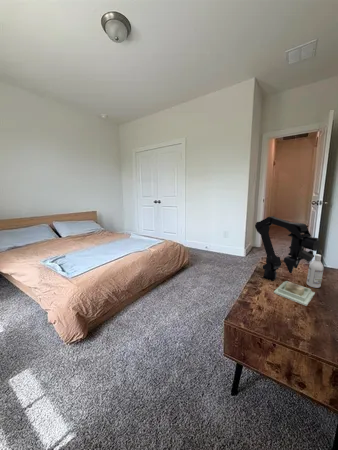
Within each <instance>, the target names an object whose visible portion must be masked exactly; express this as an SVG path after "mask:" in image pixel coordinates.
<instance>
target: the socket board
mask: <svg viewBox="0 0 338 450" xmlns="http://www.w3.org/2000/svg"><path fill="white" fill-rule="evenodd" d="M288 282H289V281H288V280H285V281H283V282H282V283H281V284H280V285H279V286H278V287H276V289H275V290H274V291H273V294H276V295H278V296H280V297H282V298H285V299H288V300H290V301H292V302H296V303H297V304H300V305H301V306H302V305H303V306H306V307H307V306H308V304H309V303H310V302H311V300H312V299H313V297H314V296H315V293H316V292H315V291H312V288H309V287H305V286H303V285H299V284H296V283H295V284H296V285H299V286H301V287H303V288H305V289H304V295H302V296H299V295H297V294H294V293H291V292H289V291H287V290H285V287H286V283H288Z"/></svg>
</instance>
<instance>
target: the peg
mask: <svg viewBox="0 0 338 450" xmlns="http://www.w3.org/2000/svg"><path fill="white" fill-rule="evenodd" d="M301 286H302V285H300V286H299V284H297V285H296V283H295V282H291V281H288V283H286V287H285V290H287V291H289V292H291V293H294V294H297V295H299V296H302V295H304V289H305V288H303V287H304V286H303V287H301Z"/></svg>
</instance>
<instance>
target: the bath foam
mask: <svg viewBox="0 0 338 450" xmlns="http://www.w3.org/2000/svg"><path fill="white" fill-rule="evenodd" d="M321 260H322V255H321V254H318V253H315V254H314V260H311V261H310V262H309V266H308V271H307V277H306V285H308V287H311V288H315V289H317V288H321V284H322V280H323V275H324V274H323V273H324V265H323V263H322V261H321Z"/></svg>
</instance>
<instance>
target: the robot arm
mask: <svg viewBox="0 0 338 450" xmlns="http://www.w3.org/2000/svg"><path fill="white" fill-rule="evenodd" d="M272 225H275V226H278V227H280V228H283V229H286V230H287V231H288V232H289V234H287V236H288V237H291V241H290V246H288V249H289V252H288V254H287V256H285V257H284V258H283V263H284V264H285V266H286V268H287V270H288V271H287V272H288V273H289V274H292V273H293V270H294V269H298V266H299V264H300V262H301V261H302V260H305V261H306V262H307V263H311V262H312V261H313V259H314V258H315V254H314V252H317V251H318V250H319V249H320V247H321V242H320V241H319V238H318V237H313V236H312V234H311V233H310V230H309V229H308V226H307V224H306V223H302V222H292V221H289V220H286V219H282V218H279V217H275V216H274V215H273V216H267V217H266V218H264V219H261V220H260V221H257V222H255V224H254V226H255V229H256V231H257V233H258V234H259V235H260V237H261V240H262V244H263V247H264V250H265V253H266V258H265V264H263V265H262V270H264V271H263V276H262V278H264V279H266V280H269V281H272V282H273V281H275V280H276V279H277V275H278V273H277V270H279V269H280V268H281V266H282V261H281V256H278V255H277V254H276V253H275V250H274V247H273V244H272V241H271V237H270V233H269V232H270V226H272ZM305 249H306V250H305Z"/></svg>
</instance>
